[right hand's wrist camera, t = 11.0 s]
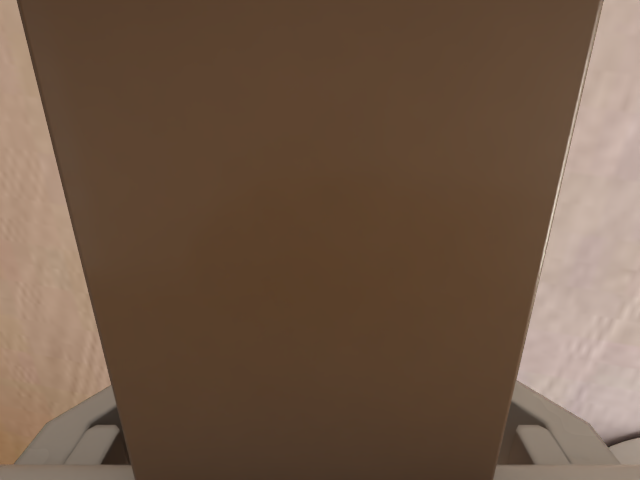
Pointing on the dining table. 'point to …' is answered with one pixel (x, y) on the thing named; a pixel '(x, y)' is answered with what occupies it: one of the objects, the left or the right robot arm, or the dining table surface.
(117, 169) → the bar
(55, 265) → the dining table surface
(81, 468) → the right robot arm
